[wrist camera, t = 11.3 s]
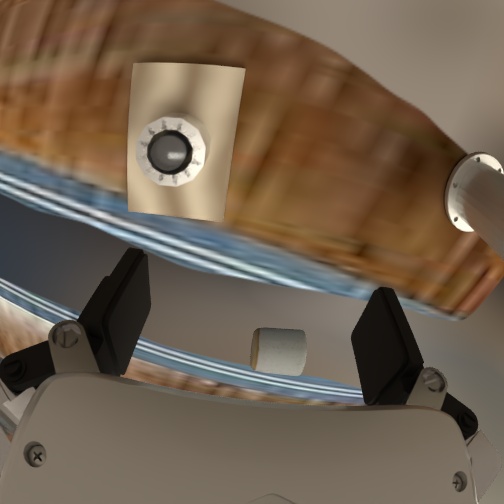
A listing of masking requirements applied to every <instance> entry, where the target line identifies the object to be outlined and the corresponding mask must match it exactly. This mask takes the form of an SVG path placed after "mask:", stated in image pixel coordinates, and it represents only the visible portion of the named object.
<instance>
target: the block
mask: <svg viewBox="0 0 504 504" xmlns="http://www.w3.org/2000/svg"><path fill="white" fill-rule="evenodd" d="M245 70H246V69H244V68H236V67H227V66H217V65H205V64H189V63H133V70H132V80H131V91H130V105H129V122H128V153H127V182H128V211H133V212H142V213H151V214H159V215H168V216H176V217H185V218H193V219H201V220H209V221H217V222H223V220H224V214H225V206H226V198H227V190H228V183H229V175H230V168H231V161H232V154H233V147H234V140H235V133H236V127H237V120H238V113H239V107H240V101H241V94H242V88H243V82H244V76H245ZM172 112H180V113H190V114H192V115H193V116H195V117H196V118H198V119H199V120H201V121H202V122H204V124H205V126H206V128H207V130H208V132H209V135H210V137H211V144H210V153H209V156H208V158H207V160H206V162H205V164H204V166H203V167H202V168H201V170H200V171H199V172H198V174H197V175H196V176H195V178H194V179H193V180H191V181H189V182H186V183H184V184H182V185H179V186H177V187H174V186H165V185H158V184H157V183H155V182H154V181H152V180H151V179H149V178H148V177H146V176H145V175H144V174H143V172H142V170H141V168H140V166H139V164H138V163H137V161H136V141H137V139H138V138H139V136H140V134H141V133H142V131H143V130H144V128H145V126H146V125H148V124H150V123H152V122H154V121H156V120H158V119H160V118H162V117H164V116H166V115H168V114H170V113H172ZM169 131H171V130H167V129H165V130H163V131H162V133H161V134H160V136H159V139H160V138H161V137H162V136H164V135H165V134H167V133H168V132H169ZM192 155H193V149H192V151H191V152H190V154H189V155H188V156H187V157H186V159H185V160H184V161H183V163H185V162H188V161H190V160H192ZM183 163H182V164H183Z"/></svg>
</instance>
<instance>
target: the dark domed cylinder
mask: <svg viewBox="0 0 504 504" xmlns="http://www.w3.org/2000/svg"><path fill="white" fill-rule="evenodd" d="M192 149H193V147H192V145H191V143H190V141H189V139H188V137H186V136H185V135H184V134H182V133H181V132H179V131H178V130H171V131H169V132H168V133H167V134H165V135H164V136H162V137H161V138H160V139H158V140H157V141H156V142H155V143H154V144H153V146H152V149H151V158H152V161H153V163H154V164H155V165H156V166H157V167H158V168H160V169H162V170H166V171H170V170H174V169H176V168H178V167H179V166H180V165H181V164H182V163H183V161H184V160H185V159H186V157H187V156H188V155H189V154H190V152H191V151H192Z"/></svg>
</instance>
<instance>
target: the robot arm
mask: <svg viewBox="0 0 504 504" xmlns="http://www.w3.org/2000/svg"><path fill="white" fill-rule="evenodd" d="M445 210H446V214H447V216H448V218H449V220H450V221H451V223H452V224H453V225H454V226H455V227H456V228H458V229H460V230H462V231H465V232H471V231H475V232H476V233H477V234H478V235H479V236H480V237H481V238H482V239H483V240H484V241H485V242H486V243H487V244H488V245H489V246H490V247H491V248H492V249H493V250H494V251H495V252H496V253H497V254H498V256H499V257H500V258H501V259H502V260H503V261H504V173H503V169H502V167H501V165H500V163H499V162H498V161H497V160H496V158H494V157H493V156H491V155H490V154H488V153H485V152H474V153H471V154H469V155H467V156H466V157H464V158H463V159H462V160H461V161H460V162H459V163H458V164H457V166H456V167H455V168H454V170H453V172H452V173H451V175H450V178H449V180H448V183H447V186H446V190H445ZM150 308H151V298H150V285H149V271H148V256H147V254H144V252H143V250H142V249H136V248H128V249H127V251H126V252H125V254H124V255H123V257H122V258H121V260H120V261H119V263H118V264H117V266H116V267H115V269H114V270H113V272H112V274H111V275H110V276H106V277H105V278H104V279H103V280H102V281H101V283H100V284H99V286H98V288H97V289H96V291H95V292H94V294H93V295H92V297H91V298H90V300H89V302H88V303H87V305H86V307H85V308H84V310H83V311H82V313H81V315H80V316H79V318H78V320H77V321H74V320H64V321H61V322H59V323H57V324H55V325H54V326H53V327H52V328H51V330H50V332H49V335H48V340H47V341H44V342H42V343H39V344H36V345H34V346H31V347H28V348H26V349H23V350H20V351H18V352H15V353H12V354H10V355H8V356H6V357H5V358H4V359H3V360H2V362H1V364H0V504H478V502H479V500H480V499H481V498H482V496H483V495H484V494H485V492H486V491H487V489H488V488H489V487H490V485H491V484H492V482H493V481H494V479H495V478H496V476H497V475H498V473H499V471H500V470H501V467H502V458H501V456H500V454H499V453H498V451H497V450H496V448H495V447H494V446H493V444H492V443H491V442H490V441H489V439H488V438H487V437H486V435H485V434H484V433H483V431H482V430H479V431H478V430H477V429H478V420H477V417H476V415H475V414H474V413H473V412H472V411H471V410H470V409H469V408H468V407H466V406H465V405H464V404H462V403H461V402H459V401H458V400H457V399H456V398H454V397H453V396H451V395H450V394H449V393H448V392H447V388H448V383H447V380H446V378H445V376H444V375H443V373H442V372H440V371H439V370H438V369H436V368H433V367H426V368H424V367H423V363H424V361H423V358H422V356H421V353H420V350H419V348H418V345H417V343H416V340H415V338H414V335H413V333H412V330H411V328H410V326H409V323H408V321H407V319H406V316H405V314H404V312H403V309H402V307H401V305H400V303H399V300H398V298H397V296H396V294H395V292H394V290H393V289H392V288H387V287H379V288H378V290H375V291H374V292H373V294H372V296H371V298H370V300H369V302H368V304H367V306H366V308H365V310H364V312H363V313H362V316H361V317H360V319H359V321H358V323H357V325H356V326H355V328H354V330H353V332H352V335H351V341H352V346H353V350H354V355H355V359H356V364H357V369H358V373H359V378H360V383H361V388H362V393H363V398H364V403H365V404H367V405H368V406H322V405H299V404H283V403H271V402H260V401H251V400H242V399H234V398H227V397H220V396H213V395H207V394H201V393H195V392H189V391H184V390H179V389H174V388H169V387H164V386H159V385H154V384H150V383H145V382H141V381H137V380H132V379H128V378H123V377H120V375H124V374H125V372H126V370H127V367H128V365H129V362H130V359H131V357H132V354H133V352H134V349H135V346H136V344H137V341H138V339H139V336H140V334H141V331H142V329H143V326H144V324H145V322H146V319H147V317H148V314H149V311H150ZM17 425H18V426H17Z"/></svg>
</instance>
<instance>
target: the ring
mask: <svg viewBox="0 0 504 504" xmlns="http://www.w3.org/2000/svg"><path fill="white" fill-rule="evenodd" d="M165 129H167V130H178V131H179V132H181V133H182V134H184V135H185V136H186V137H188V139H189V141H190V143H191V145H192V147H193V155H192V160H190V161H188V162H185V163H183V164H181V165H180V166H179V167H178V168H176V169H174V170H170V171H166V170H162V169H160V168H158V167H157V166H156V165H155V164H154V163H153V161H152V158H151V149H152V146H153V144H154V143H155V142H156V141H157V140H158V139H159V136H160V134H161V133H162V131H163V130H165ZM210 144H211V137H210V135H209V132H208V130H207V128H206V126H205V124H204V122H202V121H201V120H199V119H198V118H196V117H195V116H193V115H192V114H190V113H180V112H172V113H170V114H168V115H166V116H164V117H162V118H160V119H158V120H156V121H154V122H152V123H150V124H148V125H146V126H145V128H144V130H143V131H142V133H141V134H140V136H139V138H138V139H137V141H136V161H137V163H138V164H139V166H140V168H141V170H142V172H143V174H144V175H145V176H146V177H148V178H149V179H151V180H152V181H154V182H155V183H157V184H158V185H165V186H174V187H177V186H179V185H182V184H184V183H186V182H189V181H191V180H193V179H194V178H195V176H196V175H197V174H198V172H199V171H200V170H201V168H202V167H203V166H204V164H205V162H206V160H207V158H208V156H209V153H210Z"/></svg>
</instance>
